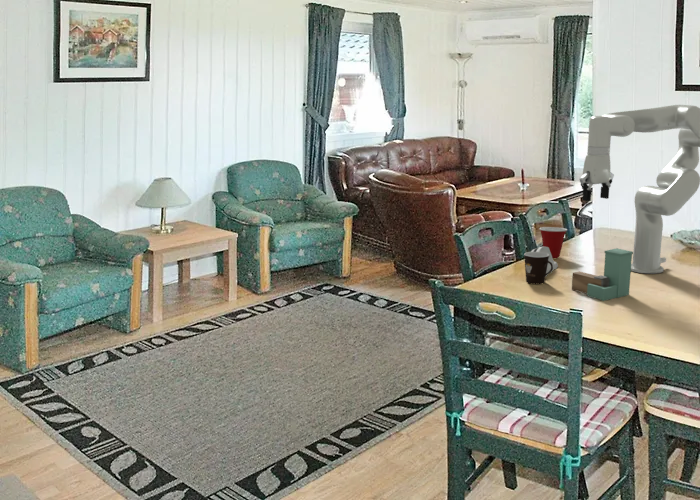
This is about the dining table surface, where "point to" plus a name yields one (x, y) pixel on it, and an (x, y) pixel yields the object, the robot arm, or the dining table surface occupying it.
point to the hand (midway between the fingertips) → (595, 199)
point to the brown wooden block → (587, 281)
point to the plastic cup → (553, 239)
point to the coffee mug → (536, 267)
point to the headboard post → (614, 275)
